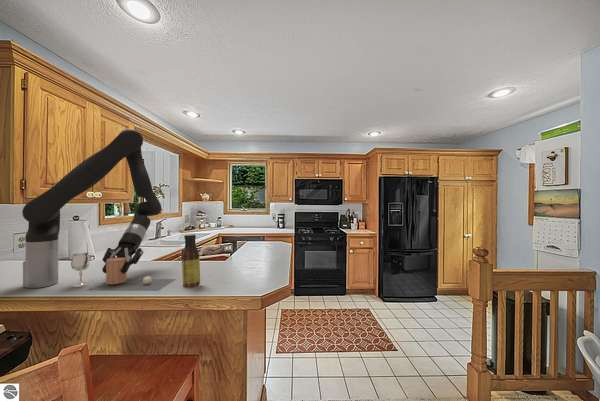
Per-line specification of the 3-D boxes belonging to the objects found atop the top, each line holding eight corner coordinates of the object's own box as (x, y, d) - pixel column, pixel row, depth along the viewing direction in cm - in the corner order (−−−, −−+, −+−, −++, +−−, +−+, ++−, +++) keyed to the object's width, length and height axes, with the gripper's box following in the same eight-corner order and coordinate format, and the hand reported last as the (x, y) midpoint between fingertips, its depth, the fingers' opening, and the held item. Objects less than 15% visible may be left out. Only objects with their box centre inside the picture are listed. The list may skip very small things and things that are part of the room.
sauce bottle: (203, 284, 105) (203, 234, 105) (190, 289, 99) (191, 236, 99) (191, 282, 108) (191, 233, 108) (178, 287, 102) (178, 235, 102)
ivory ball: (141, 285, 102) (141, 277, 102) (145, 283, 105) (145, 275, 105) (148, 285, 102) (148, 277, 102) (153, 283, 105) (153, 275, 105)
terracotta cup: (102, 284, 101) (102, 260, 101) (114, 279, 107) (114, 256, 107) (119, 284, 101) (119, 260, 100) (130, 279, 107) (130, 256, 107)
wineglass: (79, 288, 100) (79, 256, 100) (66, 286, 102) (66, 255, 102) (93, 283, 106) (93, 253, 106) (82, 282, 107) (82, 252, 107)
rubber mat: (86, 291, 97) (86, 290, 97) (113, 279, 111) (113, 278, 111) (158, 292, 97) (158, 290, 97) (176, 280, 111) (176, 279, 111)
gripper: (111, 231, 111) (89, 267, 99) (146, 231, 111) (127, 267, 99) (120, 242, 116) (100, 277, 105) (153, 242, 116) (136, 277, 105)
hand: (113, 272), depth 102 cm, fingers closed on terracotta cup, 6 cm apart
